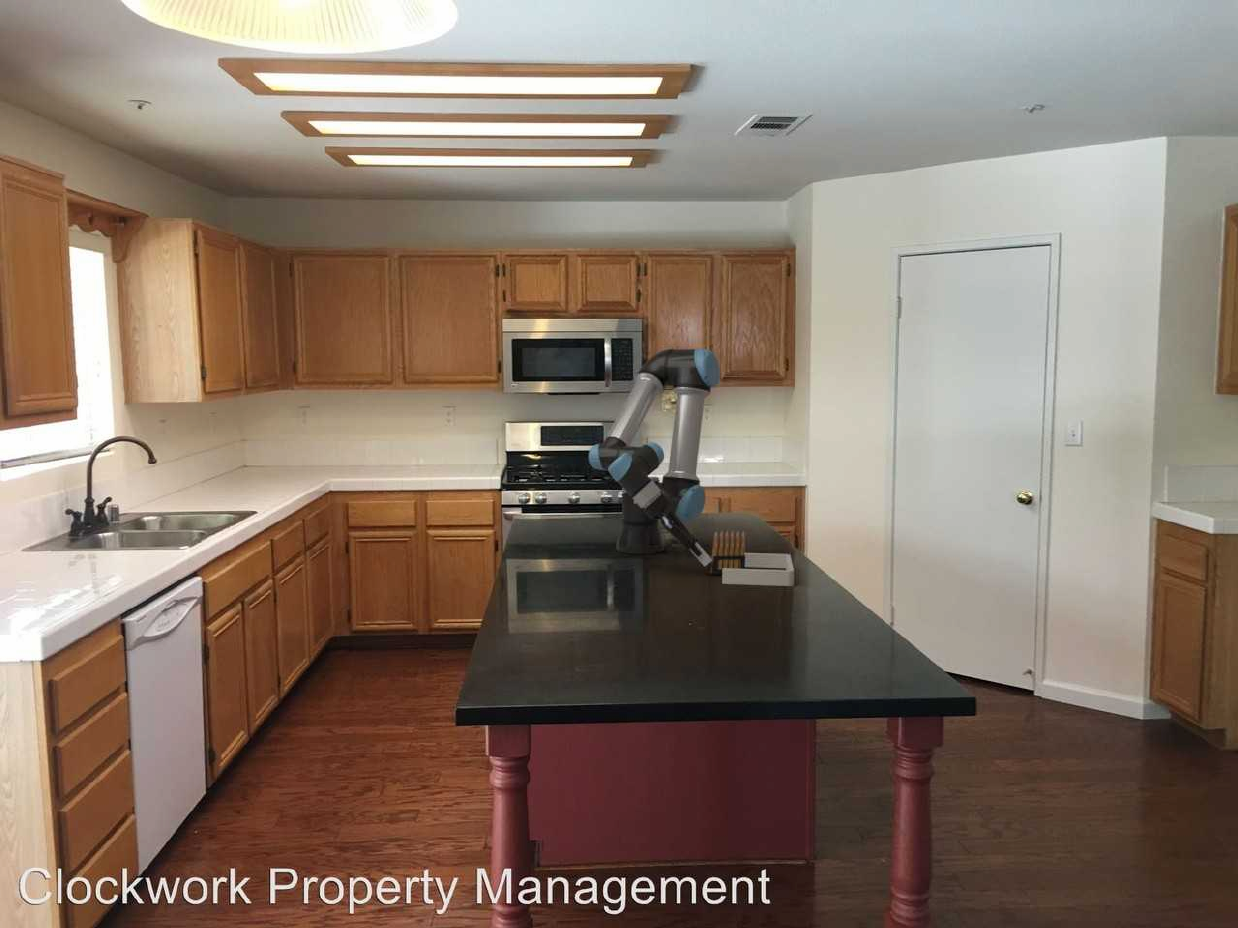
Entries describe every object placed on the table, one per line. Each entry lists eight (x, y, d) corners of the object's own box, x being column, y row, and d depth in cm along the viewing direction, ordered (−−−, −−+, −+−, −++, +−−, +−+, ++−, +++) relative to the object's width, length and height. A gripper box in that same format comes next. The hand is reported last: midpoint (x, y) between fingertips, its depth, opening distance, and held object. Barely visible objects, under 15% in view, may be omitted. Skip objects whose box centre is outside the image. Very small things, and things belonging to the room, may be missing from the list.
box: (723, 565, 273) (724, 552, 273) (789, 567, 271) (790, 554, 270) (722, 583, 251) (722, 569, 251) (793, 586, 249) (794, 571, 248)
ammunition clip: (741, 571, 265) (744, 530, 264) (744, 573, 263) (748, 531, 262) (708, 572, 261) (711, 530, 260) (711, 573, 259) (715, 531, 258)
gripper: (645, 505, 268) (700, 566, 267) (639, 513, 255) (696, 576, 254) (664, 488, 266) (719, 549, 266) (659, 495, 253) (717, 559, 253)
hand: (708, 562), depth 260 cm, fingers closed
